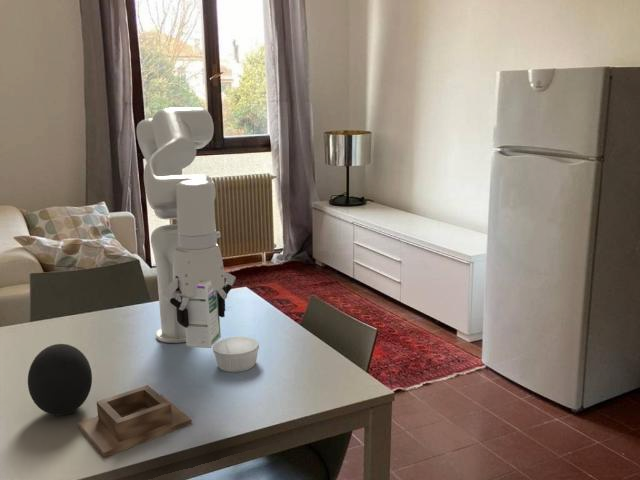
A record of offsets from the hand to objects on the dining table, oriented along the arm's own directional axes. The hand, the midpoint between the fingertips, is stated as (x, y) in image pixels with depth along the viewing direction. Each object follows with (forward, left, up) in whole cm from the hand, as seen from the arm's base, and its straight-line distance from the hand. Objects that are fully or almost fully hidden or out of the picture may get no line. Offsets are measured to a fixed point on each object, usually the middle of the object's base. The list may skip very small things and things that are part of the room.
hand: (202, 319), depth 127 cm
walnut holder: (+16, 0, -19) cm, 25 cm away
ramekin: (-15, -11, -19) cm, 27 cm away
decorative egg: (+26, -16, -19) cm, 35 cm away
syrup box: (0, 0, -5) cm, 5 cm away
